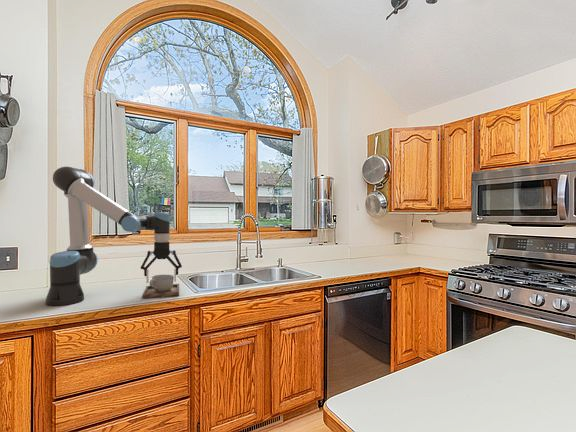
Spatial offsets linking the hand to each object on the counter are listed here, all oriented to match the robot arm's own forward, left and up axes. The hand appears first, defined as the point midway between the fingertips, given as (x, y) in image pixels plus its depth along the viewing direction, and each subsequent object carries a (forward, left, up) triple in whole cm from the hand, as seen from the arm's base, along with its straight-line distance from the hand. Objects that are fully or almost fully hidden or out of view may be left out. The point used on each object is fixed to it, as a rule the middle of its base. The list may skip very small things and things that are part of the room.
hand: (161, 281), depth 172 cm
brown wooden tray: (0, 0, -6) cm, 6 cm away
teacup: (0, 0, -5) cm, 5 cm away
